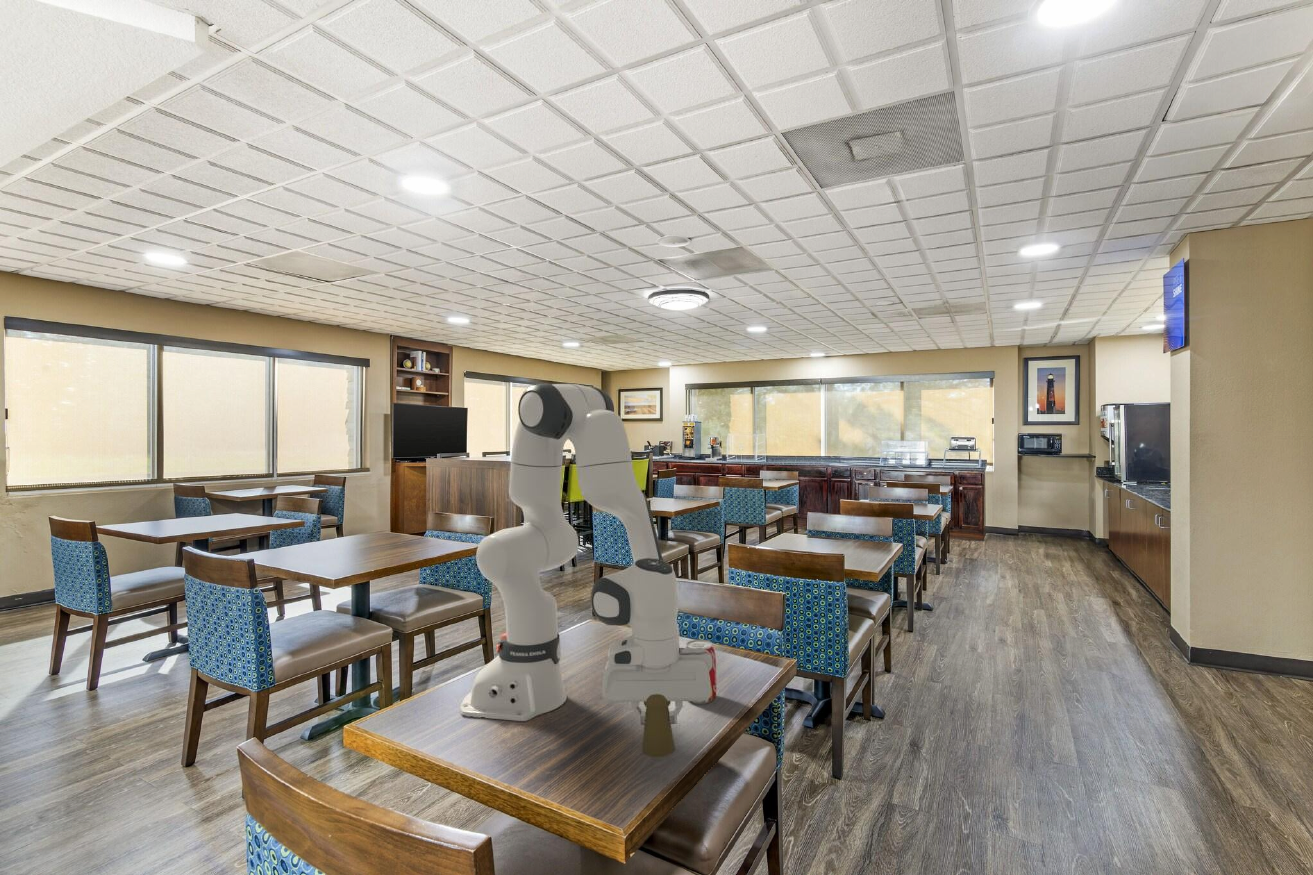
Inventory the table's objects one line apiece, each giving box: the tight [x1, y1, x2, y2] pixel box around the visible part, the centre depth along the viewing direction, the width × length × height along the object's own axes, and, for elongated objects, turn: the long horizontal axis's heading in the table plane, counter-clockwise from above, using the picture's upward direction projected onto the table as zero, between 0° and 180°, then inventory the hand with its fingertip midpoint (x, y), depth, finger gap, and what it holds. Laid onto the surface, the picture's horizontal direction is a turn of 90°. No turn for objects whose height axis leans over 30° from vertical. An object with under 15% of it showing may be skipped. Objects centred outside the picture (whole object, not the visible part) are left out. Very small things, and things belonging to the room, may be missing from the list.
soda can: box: [685, 639, 717, 705], centre depth 127 cm, size 7×7×12 cm
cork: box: [641, 694, 675, 758], centre depth 107 cm, size 6×6×11 cm
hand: (657, 723), depth 107 cm, fingers closed on cork, 4 cm apart
